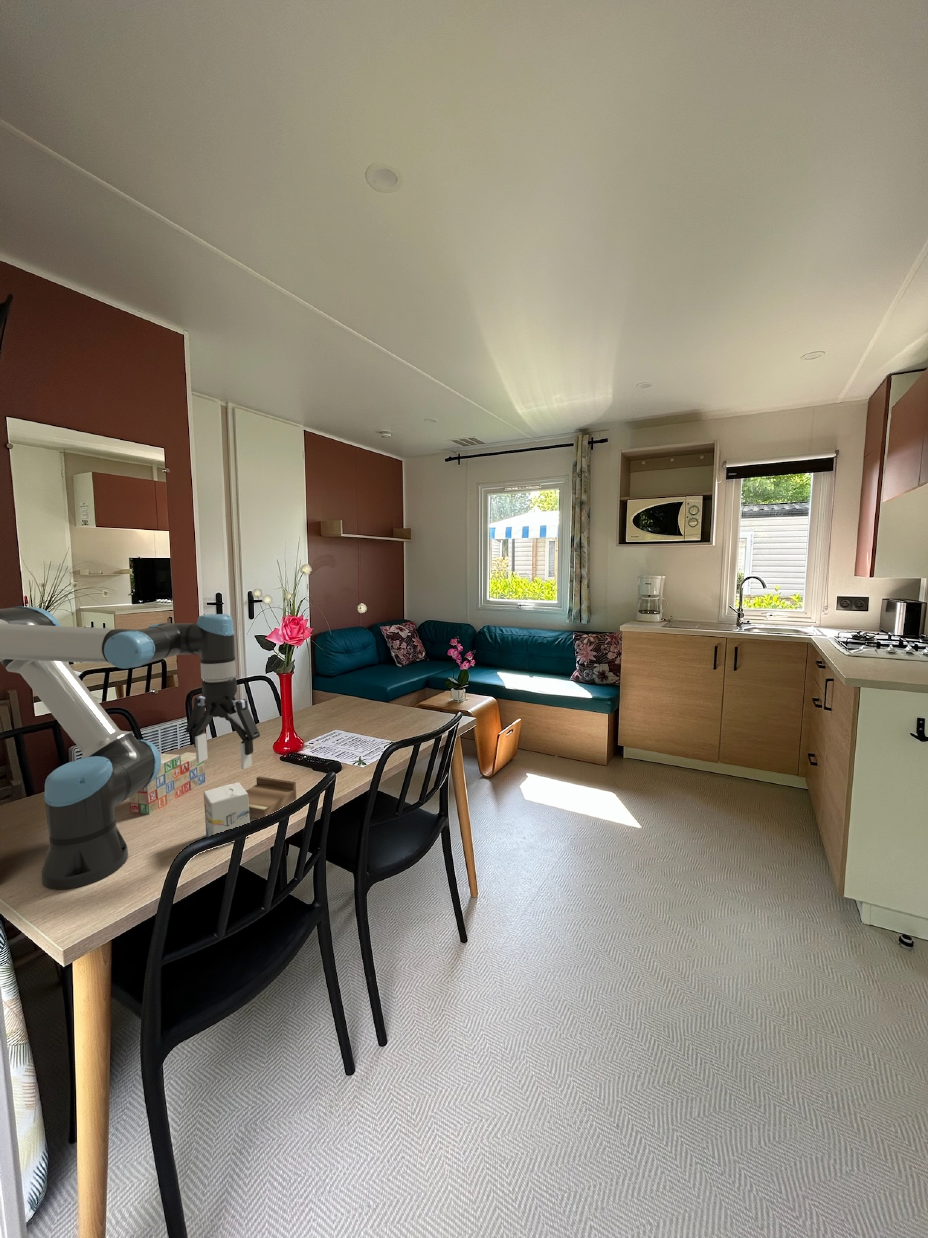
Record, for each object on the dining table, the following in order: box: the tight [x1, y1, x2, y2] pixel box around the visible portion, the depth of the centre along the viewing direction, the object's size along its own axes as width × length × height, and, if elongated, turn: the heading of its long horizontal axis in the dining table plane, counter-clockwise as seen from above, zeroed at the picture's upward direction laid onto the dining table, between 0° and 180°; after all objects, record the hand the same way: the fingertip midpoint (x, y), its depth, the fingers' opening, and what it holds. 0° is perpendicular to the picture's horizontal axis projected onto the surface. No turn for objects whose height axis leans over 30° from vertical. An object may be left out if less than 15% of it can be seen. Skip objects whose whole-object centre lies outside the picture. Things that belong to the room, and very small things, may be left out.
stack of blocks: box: [128, 751, 206, 815], centre depth 142 cm, size 21×6×12 cm, turn 168°
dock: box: [245, 776, 297, 820], centre depth 136 cm, size 13×13×5 cm
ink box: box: [203, 781, 251, 849], centre depth 120 cm, size 9×8×12 cm
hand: (224, 764), depth 119 cm, fingers open, 13 cm apart
